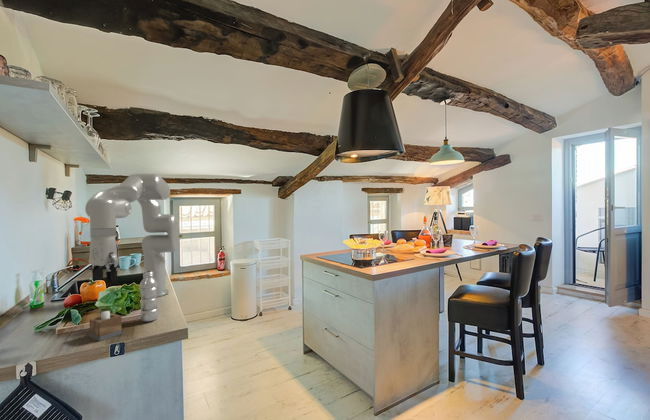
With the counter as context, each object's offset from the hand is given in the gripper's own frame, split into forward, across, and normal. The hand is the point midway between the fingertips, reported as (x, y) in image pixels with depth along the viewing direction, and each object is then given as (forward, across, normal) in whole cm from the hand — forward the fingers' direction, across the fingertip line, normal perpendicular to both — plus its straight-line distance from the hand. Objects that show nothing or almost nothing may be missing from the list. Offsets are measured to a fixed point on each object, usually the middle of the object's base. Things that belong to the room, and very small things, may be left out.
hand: (104, 280), depth 109 cm
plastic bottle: (+20, 0, +16) cm, 25 cm away
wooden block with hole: (+18, 0, 0) cm, 18 cm away
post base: (+20, 0, 0) cm, 20 cm away
